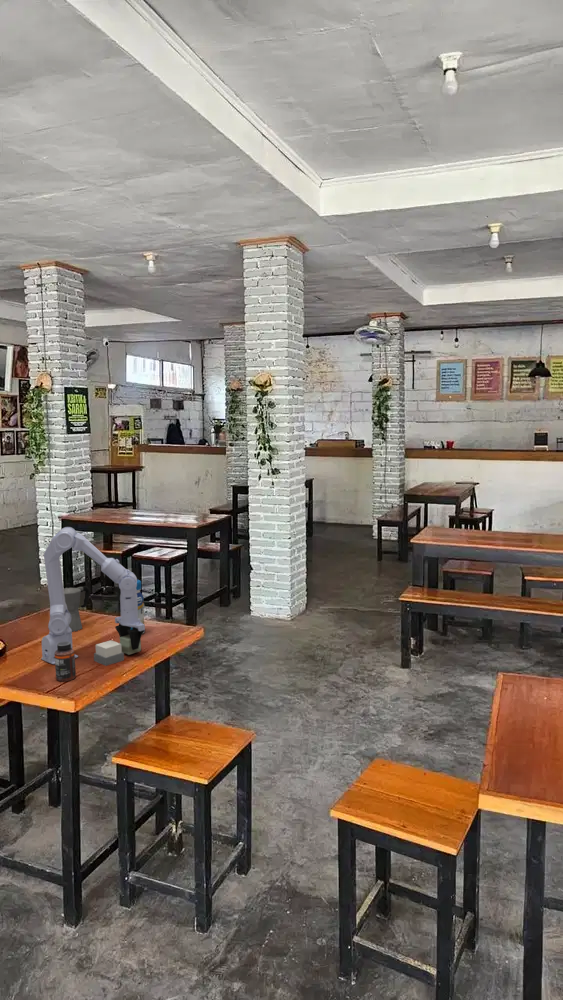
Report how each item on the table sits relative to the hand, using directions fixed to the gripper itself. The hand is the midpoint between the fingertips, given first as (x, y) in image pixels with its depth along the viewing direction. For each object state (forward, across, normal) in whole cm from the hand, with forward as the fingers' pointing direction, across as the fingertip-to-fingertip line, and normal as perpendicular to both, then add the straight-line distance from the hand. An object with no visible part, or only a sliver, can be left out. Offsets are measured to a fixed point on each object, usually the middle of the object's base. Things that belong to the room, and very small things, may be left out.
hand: (130, 647), depth 241 cm
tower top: (0, 0, +9) cm, 9 cm away
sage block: (+1, 0, 0) cm, 1 cm away
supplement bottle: (+3, -4, +27) cm, 27 cm away
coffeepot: (+3, +41, -3) cm, 41 cm away
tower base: (+3, 0, +9) cm, 9 cm away
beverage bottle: (+2, +18, -14) cm, 23 cm away
